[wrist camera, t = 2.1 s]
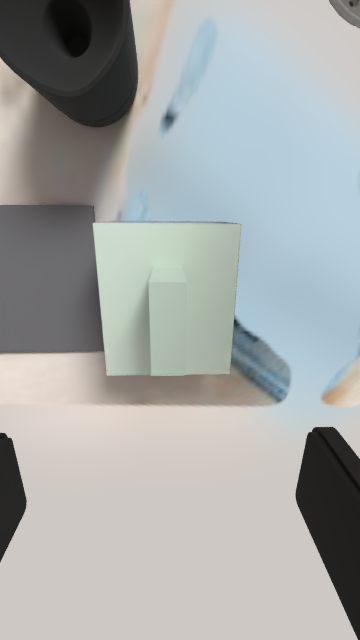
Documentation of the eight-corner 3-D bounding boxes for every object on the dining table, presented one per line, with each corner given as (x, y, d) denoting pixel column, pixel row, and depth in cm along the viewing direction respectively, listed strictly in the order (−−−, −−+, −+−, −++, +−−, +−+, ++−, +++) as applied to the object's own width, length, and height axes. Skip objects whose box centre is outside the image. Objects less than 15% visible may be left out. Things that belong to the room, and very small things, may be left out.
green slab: (234, 223, 26) (264, 226, 18) (225, 361, 30) (245, 413, 22) (99, 222, 25) (67, 225, 17) (111, 363, 30) (90, 416, 22)
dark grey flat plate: (93, 206, 31) (92, 206, 30) (106, 349, 36) (105, 350, 36) (-41, 205, 30) (-44, 204, 30) (-6, 350, 36) (-8, 351, 35)
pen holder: (110, 154, 29) (81, 124, 20) (23, 87, 27) (-54, 18, 18) (162, 61, 27) (158, -23, 17) (72, -20, 24) (12, -166, 15)
